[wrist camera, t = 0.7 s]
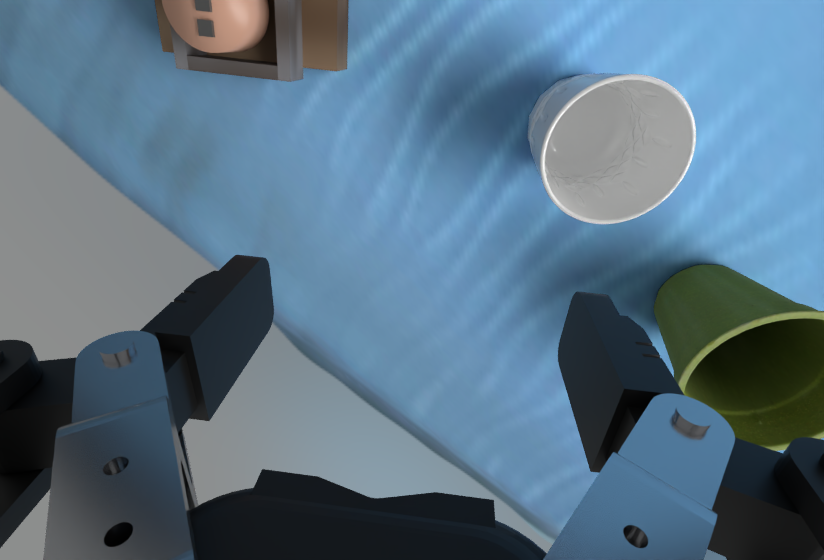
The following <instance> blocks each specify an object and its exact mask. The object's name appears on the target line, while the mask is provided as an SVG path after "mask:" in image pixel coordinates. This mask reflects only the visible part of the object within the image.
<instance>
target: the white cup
mask: <svg viewBox="0 0 824 560" xmlns="http://www.w3.org/2000/svg"><path fill="white" fill-rule="evenodd" d="M528 140H529V143H530V148H531V153H532V156H533V159H534V162H535V165H536V168H537V170H538V172H539V175H540V177H541V180H542V182H543V185H544V187H545V189H546V192H547V193H548V195H549V197H550V198H551V200H552V201H553V202H554V203H555V205H556V206H557V207H558V208H560V209H561V210H562V211H563V212H565V213H566V214H568V215H569V216H571V217H573V218H575V219H578V220H581V221H584V222H588V223H594V224H613V223H619V222H624V221H627V220H631V219H633V218H636V217H638V216H641V215H643V214H645V213H646V212H648V211H650V210H652V209H653V208H655V207H656V206H657V205H659V204H660V203H661V202H663V201H664V200H665V199H666V198H667V197H668V196H669V195H670V194H671V193H672V192H673V191H674V190H675V188H676V187H677V186H678V185H679V183H680V182H681V180H682V179H683V177H684V176H685V174H686V172H687V170H688V168H689V166H690V163H691V160H692V157H693V154H694V150H695V143H696V127H695V121H694V117H693V114H692V111H691V109H690V107H689V105H688V103H687V102H686V100H685V99H684V97H683V96H682V95H681V94H680V93H679V92H678V91H677V90H676V89H675V88H674V87H672V86H671V85H670V84H668V83H666V82H664V81H662V80H660V79H658V78H655V77H651V76H647V75H640V74H615V73H593V74H580V75H577V76H573V77H569V78H566V79H562V80H559V81H557V82H556V83H555V84H554V85H552V86H551V87H550V88H549V89H548V90H546V91H545V92H544V93H543V94H541V95H540V97H539V98H538V100H537V102H536V104H535V106H534V108H533V110H532V112H531V113H530V115H529V124H528Z"/></svg>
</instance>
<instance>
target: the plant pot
mask: <svg viewBox="0 0 824 560" xmlns="http://www.w3.org/2000/svg"><path fill="white" fill-rule="evenodd" d="M654 314H655V317H656V320H657V323H658V326H659V329H660V332H661V335H662V338H663V341H664V344H665V346H666V349H667V352H668V355H669V358H670V361H671V363H672V367H673V369H674V379H675V380H676V382H677V384H678V385H679V387H680V388H681V390H682V392H683V393H684V395H685V396H687V397H690V398H693V399H695V400H698V401H700V402H702V403H704V404H706V405H707V406H709V407H710V408H712V409H714V410H715V411H716V412H717V413H719V414H720V415H721V416H722V417H723V418H724V419H725V420H726V421H727V422H728V423H729V425H730V426H731V428H732V430H733V432H734V435H735V437H736V438H739V439H741V440H744V441H747V442H750V443H753V444H756V445H759V446H762V447H765V448H768V449H771V450H774V451H779V450H786V448H787V447H788V446H789V444H790V443H791V442H792V441H793V440H794V439H796V438H801V437H810V438H817V439H821V438H824V311H818V310H816V309H814V308H811V307H809V306H806V305H803V304H799V303H795V302H793V301H792V300H790V299H788V298H786V297H784V296H782V295H780V294H778V293H776V292H774V291H772V290H771V289H769V288H767V287H765V286H763V285H761V284H759V283H757V282H755V281H753V280H752V279H750V278H748V277H746V276H744V275H742V274H740V273H738V272H736V271H734V270H732V269H730V268H728V267H725V266H721V265H696V266H692V267H689V268H687V269H684V270H682V271H680V272H678V273H676V274H675V275H673V276H672V277H671V278H670V279H668V280H667V281H666V282H665V283H664V284H663V285H662V287H661V288H660V289H659V291H658V294H657V298H656V301H655V304H654Z"/></svg>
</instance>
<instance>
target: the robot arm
mask: <svg viewBox="0 0 824 560" xmlns="http://www.w3.org/2000/svg"><path fill="white" fill-rule="evenodd" d="M273 315H274V306H273V296H272V287H271V277H270V268H269V263H268V261H267V259H266V258H262V257H253V256H244V255H235V256H234V257H233V258H232V259H231V260H230V261H229V262H227V263H226V264H225V265H224V266H223V267H222V268H221V269H220V270H219V271H213V272H211V273H209V274H207V275H205V276H202V277H200V278H198V279H196V280H195V281H194V282H193V283H192V284H191V285H190V286H189V287H187V288H186V289H185V290H184V293H181V294H180V295H179V296H178V297H176V298H175V299H174V302H171V303H170V304H169V305H168V306H167V307H165V308H164V309H163V310H162V311H161V312H160V313H159V314H158V315H157V316H155V317H154V318H153V319H152V320H151V321H150V322H149V323H148V324H147V325H146V326H144V328H142V329H141V330H140V331H124V332H119V333H115V334H111V335H108V336H105V337H103V338H100V339H98V340H96V341H94V342H92V343H91V344H89V345H88V346H86V347H85V348H84V349H83V350H82V351H81V352H80V353H79V354H78V356H77V358H68V359H57V360H47V361H38V359H37V357H36V355H35V353H34V350H33V348H32V346H31V345H30V344H28V343H27V342H23V341H19V340H2V341H0V548H1V546H2V545H3V544H4V543H5V542H6V541H7V539H8V538H9V537H10V536H11V535H12V533H13V532H14V531H15V530H16V528H17V527H18V526H19V525H20V524H21V522H23V520H24V519H25V518H26V517H27V516H28V514H29V513H30V512H31V511H32V510H33V508H34V507H35V506H36V505H37V504H38V502H39V501H40V500H41V499H42V498H43V497H44V495H45V494H46V493H47V492H48V491H49V489H50V500H49V509H48V519H47V529H46V539H45V548H44V558H43V560H704V557H705V554H706V551H707V549H708V550H711V551H714V552H716V553H718V554H720V555H723V556H725V557H726V558H727V560H824V440H821V439H817V438H810V437H801V438H796V439H794V440H793V441H792V442H791V443H790V444H789V446H788V447H787V448H786V450H785V451H784V453H780V452H777V451H774V450H771V449H768V448H765V447H762V446H759V445H756V444H753V443H750V442H747V441H744V440H741V439H739V438H736V437H735V435H734V432H733V430H732V428H731V426H730V425H729V423H728V422H727V421H726V420H725V419H724V418H723V417H722V416H721V415H720V414H719V413H717V412H716V411H715V410H714V409H712V408H710V407H709V406H707V405H706V404H704V403H702V402H700V401H698V400H695V399H693V398H690V397H687V396H685V395H684V393H683V392H682V390H681V388H680V387H679V385H678V384H677V382H676V380H675V379H674V377H673V376H672V374H671V372H670V371H669V369H668V368H667V366H666V364H665V363H664V361H663V360H662V358H660V355H659V353H658V352H657V350H656V348H655V347H654V346H652V342H651V340H650V339H649V337H648V336H647V334H646V332H645V331H644V329H643V328H641V327H640V326H639V325H638V324H636V323H635V322H634V321H633V320H631V319H630V318H629V317H628V316H620V315H619V313H618V311H617V309H616V308H615V306H614V304H613V302H612V301H611V299H610V297H609V296H608V295H604V294H595V293H585V292H576V293H575V294H574V295H573V297H572V300H571V303H570V307H569V310H568V314H567V317H566V321H565V324H564V328H563V331H562V335H561V338H560V342H559V348H558V362H559V366H560V370H561V373H562V377H563V380H564V383H565V387H566V390H567V393H568V397H569V400H570V404H571V407H572V410H573V414H574V417H575V420H576V424H577V427H578V431H579V434H580V437H581V441H582V444H583V447H584V451H585V454H586V458H587V461H588V464H589V468H590V471H591V472H599V474H598V476H597V477H596V479H595V481H594V482H593V484H592V485H591V487H590V488H589V490H588V491H587V493H586V494H585V496H584V497H583V499H582V501H581V502H580V504H579V505H578V507H577V508H576V510H575V511H574V513H573V514H572V516H571V517H570V519H569V520H568V522H567V524H566V525H565V527H564V528H563V530H562V531H561V533H560V534H559V536H558V537H557V539H556V540H555V542H554V544H553V545H552V547H551V548H550V550H549V551H548V553H546V552H544V551H543V550H542V549H541V548H540V547H538V546H537V545H536V544H535V543H534V542H533V541H531V540H530V539H529V538H527V537H526V536H524V535H523V534H521V533H520V532H518V531H516V530H515V529H513V528H511V527H509V526H507V525H505V524H503V523H501V522H498V521H496V520H495V512H494V500H489V499H481V498H474V497H466V496H459V495H451V494H444V493H435V492H434V493H426V494H416V495H407V496H398V497H388V498H378V499H377V498H370V497H367V496H365V495H362V494H360V493H357V492H355V491H352V490H350V489H347V488H345V487H342V486H340V485H337V484H335V483H332V482H330V481H327V480H325V479H322V478H320V477H317V476H308V475H302V474H294V473H287V472H279V471H272V470H264V469H263V470H262V471H261V473H260V475H259V478H258V480H257V482H256V484H255V486H254V488H251V489H244V490H240V491H236V492H231V493H229V494H225V495H222V496H219V497H216V498H214V499H212V500H209V501H207V502H205V503H202V504H201V505H199V506H198V502H197V498H196V493H195V488H194V483H193V477H192V473H191V468H190V463H189V458H188V453H187V448H186V443H185V438H184V434H183V430H182V427H183V426H184V424H185V423H186V422H187V420H188V419H189V418H190V419H197V420H205V421H209V420H210V419H211V418H212V416H213V415H214V413H215V412H216V410H217V409H218V407H219V406H220V404H221V403H222V401H223V400H224V398H225V396H226V395H227V393H228V392H229V390H230V389H231V387H232V386H233V384H234V383H235V381H236V380H237V378H238V377H239V375H240V374H241V372H242V371H243V369H244V368H245V366H246V365H247V363H248V362H249V360H250V359H251V357H252V356H253V354H254V353H255V351H256V350H257V348H258V346H259V345H260V343H261V342H262V340H263V339H264V337H265V336H266V334H267V333H268V331H269V329H270V327H271V325H272V321H273Z"/></svg>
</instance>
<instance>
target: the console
mask: <svg viewBox="0 0 824 560" xmlns="http://www.w3.org/2000/svg"><path fill="white" fill-rule="evenodd" d="M155 5H156V12H157V18H158V24H159V30H160V37H161V43H162V49H163V51H164V52H173V53H174V55H175V62H176V68H177V69H186V70H194V71H203V72H212V73H220V74H229V75H238V76H246V77H255V78H263V79H272V80H281V81H289V82H291V81H296V80H300V79H303V67H304V68H313V69H321V70H330V71H340V70H344V69H347V43H348V0H268V5H269V23H268V27H267V30H266V33H265V35H264V37H263V38H262V40H261V41H260V42H259V43H258V44H257V45H256V46H255V47H253V48H252V49H249V50H247V51H243V52H226V53H209V52H204V51H201V50H198V49H196V48H194V47H192V46H191V45H189V44H188V43H187V42H185V41H184V40H183V39H182V38H181V37H180V36H179V35H178V34H177V32H176V31H175V30H174V28H173V27H172V25H171V24H170V22H169V20H168V18H167V16H166V14H165V11H164V8H163V5H162V0H155Z"/></svg>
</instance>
